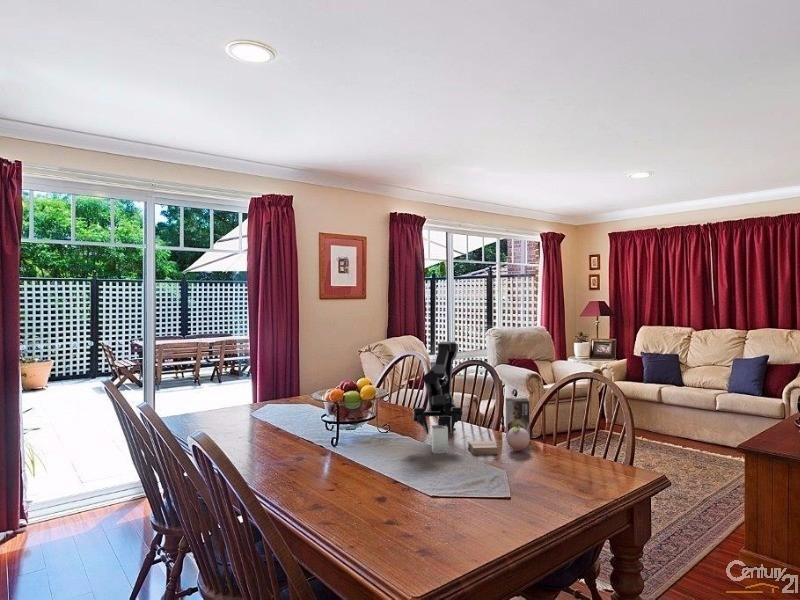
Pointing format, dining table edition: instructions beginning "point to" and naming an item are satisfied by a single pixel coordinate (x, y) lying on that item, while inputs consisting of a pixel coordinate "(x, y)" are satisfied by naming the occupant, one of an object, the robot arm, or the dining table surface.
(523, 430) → the decorative fruit
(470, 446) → the plinth
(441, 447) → the tea tin
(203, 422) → the dining table surface
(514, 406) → the coffee box
